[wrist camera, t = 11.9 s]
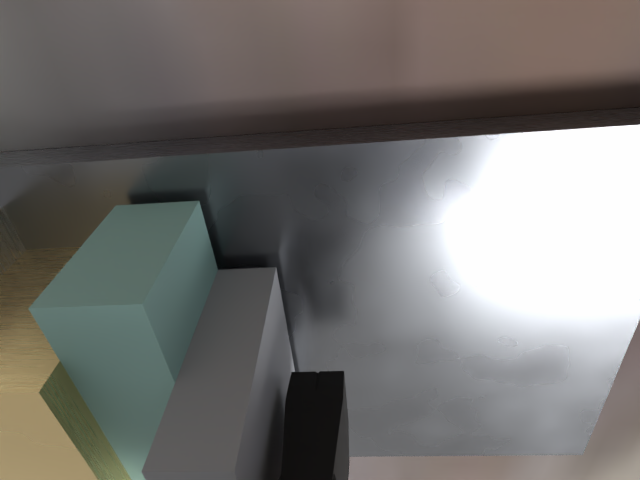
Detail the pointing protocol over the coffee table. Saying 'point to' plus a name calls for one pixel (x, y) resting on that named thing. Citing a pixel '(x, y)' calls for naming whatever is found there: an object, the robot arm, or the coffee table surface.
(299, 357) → the grey slab
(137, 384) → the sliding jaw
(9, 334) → the brass block
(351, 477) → the coffee table surface
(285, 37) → the coffee table surface
